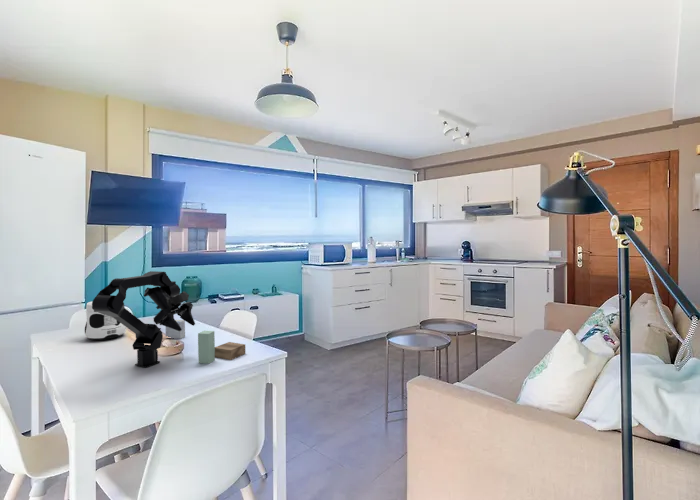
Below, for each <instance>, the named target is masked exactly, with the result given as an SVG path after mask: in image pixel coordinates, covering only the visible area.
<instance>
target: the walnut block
mask: <svg viewBox="0 0 700 500" xmlns="http://www.w3.org/2000/svg"><path fill="white" fill-rule="evenodd" d="M245 354H246V344H244V343H238V342H232V341H227V342H225V343H223V344H219V345H217V346H215V358H218V359H224V360H229V361H231V360H234V359H236V358H239V357H241V356H243V355H245ZM238 356H239V357H238Z"/></svg>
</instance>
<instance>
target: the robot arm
mask: <svg viewBox="0 0 700 500" xmlns="http://www.w3.org/2000/svg"><path fill="white" fill-rule="evenodd" d="M176 282H177V281H173V280H171V278H170V277H169V275H168V274H167V273H166V271H156V270H155V271H152V270H151V271H148V272H146V273H144V274H143V275H137V276H129V277H121V278H117V277H116V278H114V279H112V280H111V281H110V282H109V284H107V285H106V286H104V288H102V289H101V290H100V291H99V292H98V293H97V294H96V296H95V297H94V298H93V300H92V301H93V302H92V309H93V310H94V311H96V312H99V313H101V314H104V315H108V316H111V317H113V318H114V319H116V320H117V321H119V322H120V323H121V324H123V325H124V326H126V329H128V330H129V331H131V332H133V333H134V334H135V340H134V341H133V343H132V349H133V350H136V357H137V359H136V360H137V362H136V363H135V364H134V366H137V367H141V368H149V367H151V366H155V365H157V364H159V363H161V361H160V360H159V351H158V349H160V348H161V347H162V342H163V338H164V335H163V331H162V328H161V327H158V325H159V326H164V327H165V328H166V327H169V328H172V329H175V330H177V331H181V330H182V329H181V327H180V326H179V324H178V323H177V322H176V321H175V320H176V319H175V316H174V315H177V316H179V318H180V320H185V323H186V322H187V324H189V325H191V326H195V325H196V322H195V319H194V317H193V315H192V310H193V307H194V305H193V304H192V302H190V301H189V298H190V297H189V296H190V294H189V293H187V292H186V291H182V292H181V288H180V286H179V285H178V284H176ZM144 286H153V287H146V288H145V290H144V293H143V297H149V298H150V299H151V300H152V302H154V303H155V305H156V307H155V308H156V309H157V310H159V312H157V313H156V315H155V316H154V317H153V323H145V322H143V321H142V320H141V319H139V318H138V317H137V316H136V315H134V314H133V313H132V312H130V311H129V310H128V309H126V308H125V302H124V301H125V300H126V298H127V290H128V289H132V288H133V289H134V288H139V287H144ZM116 291H118V292H117V294H116V295H112V294H114V293H115V292H116ZM183 302H184V303H183Z"/></svg>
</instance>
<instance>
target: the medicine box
mask: <svg viewBox="0 0 700 500" xmlns="http://www.w3.org/2000/svg"><path fill="white" fill-rule="evenodd" d="M175 321H176V322H177V323H178V324H179V326H180V327H181V329H182V330H181V331H177V330H175V329H172V328H169V327H166V326H165V337H166V336H168V337H171V338H174V339H175V340H176V339H177V340H178V339H179V340H181V339H183V338H185V337H186V321H185V320H183V319H175Z"/></svg>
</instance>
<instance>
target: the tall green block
mask: <svg viewBox="0 0 700 500" xmlns="http://www.w3.org/2000/svg"><path fill="white" fill-rule="evenodd" d="M215 341H216V340H215V330H202V331H201V332H197V343H198V344H197V345H198V346H197V349H198V350H197V353H198V354H197V355H198V357H197V358H198V364H204V365H206V364H207V365H208V364H211V363H212V362H214V361H216V357H215V347H216V346H215V343H216V342H215Z"/></svg>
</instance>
